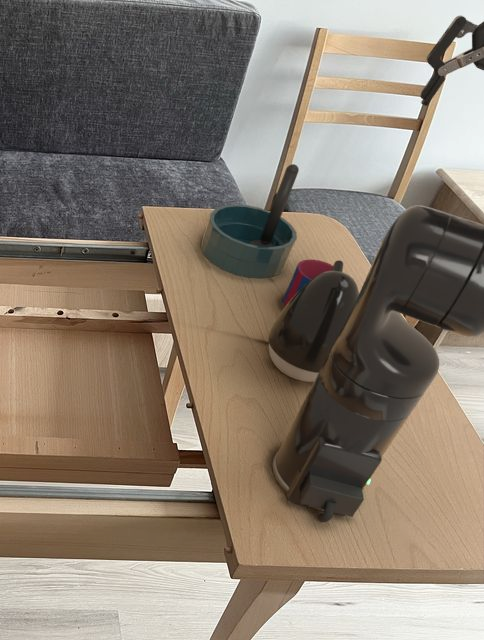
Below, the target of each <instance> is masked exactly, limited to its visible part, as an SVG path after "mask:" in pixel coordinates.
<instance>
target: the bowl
mask: <svg viewBox="0 0 484 640" xmlns="http://www.w3.org/2000/svg"><path fill="white" fill-rule="evenodd" d="M270 211H271V210H270ZM270 211H269V210H267V209H265V208H261V207H258V206H253V205H249V204H238V203H237V204H236V203H234V204H225V205H221V206H218V207H216V208H214V209H213V210H212V211H211V212H210V214H209V217H208V220H207V223H206V227H205V230H204V233H203V236H202V239H201V244H200V249H201V252H202V254H203V256H204V257H205V258H206V259H207V260H208V261H209V262H210V263H211V264H213V265H214V266H216V267H218V268H219V269H221V270H223V271H226V272H228V273H230V274H233V275H235V276H240V277H243V278H248V279H249V278H250V279H267V278H272V277H276V276H278V275H279V274H281V273H283V271H284V270H285V268H286V266H287V264H288V261H289V259H290V257H291V255H292V252H293V249H294V247H295V245H296V242H297V240H298V235H297V231H296V229H295V228H294V226H293V225H292V224H291V223H290V222H289V221H287V220H286V218H284V217H282V216H281V218H280V221H279V223H278V226H277V228H276V231H275V234H274V236H273V239H272V241H271V243H270V244H272V245H273V246H275V247H263V246H256V245H251V244H250V242H251V241H254V240H260V238H261V235H262V232H263V230H264V227H265V224H266V222H267V219H268V216H269V214H270Z"/></svg>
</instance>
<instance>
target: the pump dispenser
mask: <svg viewBox="0 0 484 640" xmlns="http://www.w3.org/2000/svg"><path fill="white" fill-rule="evenodd" d="M359 293H360V290H359V287H358V284H357V282H356V280H355V279H354V278H353V277H352V276H351V275H349V274H347V273H346V272H344V262H343V261H342V260H341V259H340V260H339V259H337V260H335V261H334V262H333V269H332V271H327V272H324V273H321V274H320V275H318V276H316V277H314V278H313V279H312V280H310V281H309V282H308V283H307V284H305V285H304V286H303V287H302V288H301V289H300V290H299V291H298V292H297V293H296V294H295V296H294V297H293V298H292V299H291V300H290V301H289V302H288V304H287V305H286V306H284V308H283V309H282V310H281V312H280V313H279V314H278V315H277V317H276V319H275V321H274V322H273V324H272V325H271V327H270V330H269V333H268V336H267V339H268V340H267V341H268V353H269V356H270V359H271V361H272V362H273V364H274V365H275V367H276V368H277V369H278V370H279V371H280V372H281V373H283V374H284V375H286V376H287V377H289V378H291V379H294V380H297V381H301V382H307V383H309V382H310V383H312V382H313V383H314V381H315V379H316V377H317V375H318V373H319V371H320V369H321V367H322V366H323V364H324V362H325V360H326V358H327V356H328V354H329V352H330V350H331V348H332V346H333V344H334V342H335V340H336V338H337V337H338V335H339V333H340V331H341V329H342V327H343V326H344V324H345V322H346V320H347V318H348V316H349V314H350V312H351V310H352V309H353V307H354V304H355V302H356V300H357V298H358V296H359Z"/></svg>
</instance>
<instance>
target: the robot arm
mask: <svg viewBox="0 0 484 640" xmlns="http://www.w3.org/2000/svg"><path fill="white" fill-rule="evenodd" d="M468 34H471V48H469V49H467V50H465V51H463V52H461V53H459V54H458V55H456V56H454V57H452V58H450V59H448V60H447V61H444V60H442V57H443V56H444V54H445V53H446V52H447V50H448V49H449V47H450V46H451V45H452V43H453V42H454V41H455V39H462V38H464V37H465V36H466V35H468ZM426 62H427V64H428V65H429V66H430V67H431V68H432V69H433V74H432V75H431V77H430V78H429V80H428V82H426V84H425V86H424V87H423V89H422V90H421V92H420V99H422V100H421V102H420V104H421V105H423V106H425V107H428V106H429V104H430V103H431V102H432V100H433V98H434V97H435V95H436V94H437V93H438V91H439V90H440V88H441V86H442V85H443V83H444V82H445V81H446V76H448V75H449V74H452V73H453V72H455V71H457V70H460V69H462V68H464V67H467V66H469V65H471V64H473V65H474V66H475V67H476V68H477V69H479V70H481V71H484V20H483V21H482V22H480V24H476V23H474V22H472V21H470V20H469V19H467V18H466V17H465V16H464V15H457V16H456V17H454V18H453V20H452V21H451V23H450V25H448V27H447V28H446V30H445V31H444V32H443V34H442V35H441V37H440V38H439V40H437V42H436V43H435V45H434V46H433V47H432V48H431V50H430V52H429V53H428V54H427V56H426ZM403 315H404V316H406V317H409V318H412V319H415V320H417V321H420V322H422V323H425V324H427V325H430V326H435V327H436V328H438V329H442V330H444V331H447V332H449V333H452V334H454V335H458V336H460V337H464V338H471V339H472V338H478V337H481V336H482V335H484V224H483V223H480V222H476V221H474V220H470V219H467V218H464V217H461V216H458V215H455V214H452V213H451V214H450V213H448V212H446V211H442V210H439V209H435V208H433V207H428V206H425V205H420V204H419V205H418V204H417V205H412V206H410V207H408V208H406V209H405V210H403V212H401V213H400V214H399V215H398V216H397V217H396V218H395V220H394V221H393V222H392V223H391V226H389V229H388V230H387V232H386V234H385V235H384V237H383V239H382V241H381V243H380V245H379V247H378V250H377V252H376V254H375V257H374V259H373V260H372V263H371V266H370V268H369V270H368V273H367V275H366V277H365V280H364V282H363V284H362V286H361V288H360V290H359V296H358V298H357V300H356V302H355V304H354V307H353V309H352V310H351V312H350V314H349V316H348V318H347V320H346V322H345V324H344V326H343V327H342V329H341V331H340V333H339V335H338V337H337V338H336V340H335V342H334V344H333V346H332V348H331V350H330V352H329V354H328V356H327V358H326V360H325V362H324V364H323V366H322V367H321V369H320V371H319V373H318V375H317V377H316V379H315V381H314V382H313V383H312V385H311V387H310V389H309V391H308V392H307V395H306V397H305V398H304V400H303V403H302V405H301V406H300V408H299V410H298V412H297V414H296V416H295V418H294V420H293V422H292V424H291V425H290V428H289V430H288V431H287V434H286V435H285V438H284V440H283V441H282V443H281V446H280V448H278V450H277V451H276V454H275V455H274V458H273V460H272V473H273V476H274V478H275V480H276V482H277V484H278V485H279V486H280V487H281V488H282V490H283V491H284V492H285V493H286V496H287V501H288V502H290V503H292V504H296V505H300V506H304V507H306V508H307V507H308V508H311V509H314V510H318V511H323V512H322V513H319V514H318V515H317V521H319V522H320V523H327V522H329V521H331V519H332V518H333V516H334V515H337V516H341V517H345V516H347V517H350V518H353V516H354V515H355V514H356V512H357V511H358V510H359V508H360V506H361V505H362V503H363V502H364V500H365V498H364V491H363V490H364V488H365V487H366V485H370V483H371V478H372V477H373V475H374V474H375V472H376V470H377V469H378V468H379V466H380V464H382V461H383V457H384V455H385V454H386V452H387V451H388V449H389V448H390V446H391V444H392V443H393V441H394V440H395V438H396V437H397V435H398V434H399V433H400V431H401V429H402V428H403V427H404V425H405V424H406V423H407V421H408V419H409V417H410V416H411V414H412V413H413V411H414V410H415V409H416V408H417V405H418V404H419V402H420V401H421V400H422V398H423V397H424V396H425V393H426V392H427V391H428V389H430V386H431V385H432V383H433V382H434V380H435V378H436V377H437V375H438V373H439V371H440V370H439V369H440V357H439V355H438V353H437V350H436V348H435V347H434V345H433V344H432V343H431V342H430V341H429V339H427V337H426V336H425V335H423V334H422V333H421V332H420V331H419V330H418V329H416V328H415V327H413V326H412V324H410V323H409V322H408V321H407V320H406V319H405V318H404V316H403Z"/></svg>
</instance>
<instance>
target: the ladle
mask: <svg viewBox="0 0 484 640" xmlns="http://www.w3.org/2000/svg"><path fill="white" fill-rule="evenodd" d="M299 169H300V168H299V166H298V165H297V164H294V163H293V164H291V163H290V164H289V165H288V166H286V168H285V171H284V173H283V177H282V178H281V182H280V184H279V187H278V189H277V192H276V195H275V198H274V201H273V203H272V206H271V208H270V214H269V216H268V219H267V222H266V224H265V227H264V230H263V232H262V235H261V238H260V240H254V241H251V242H250V244H251V245H256V246H263V247H275V246H273V245H272V244H270V243H271V241H272V239H273V236H274V234H275V231H276V228H277V226H278V223H279V221H280V218H281V217H282V216H283V213H284V211H285V208H286V206H287V202H288V200H289V197H290V195H291V192H292V189H293V187H294V184H295V181H296V180H297V176H298V174H299Z"/></svg>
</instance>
